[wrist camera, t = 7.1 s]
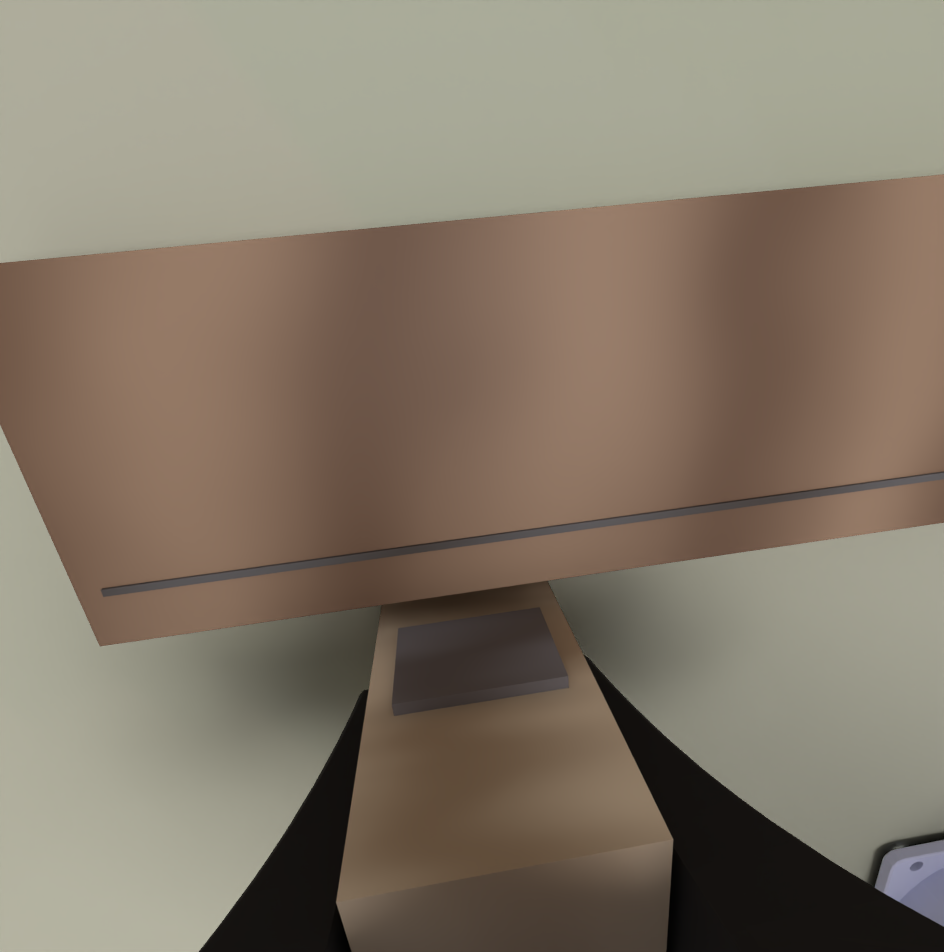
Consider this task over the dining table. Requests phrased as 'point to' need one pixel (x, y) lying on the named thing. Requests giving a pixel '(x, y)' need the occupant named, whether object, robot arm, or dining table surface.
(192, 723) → the dining table surface
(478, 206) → the dining table surface
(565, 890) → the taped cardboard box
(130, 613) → the board
